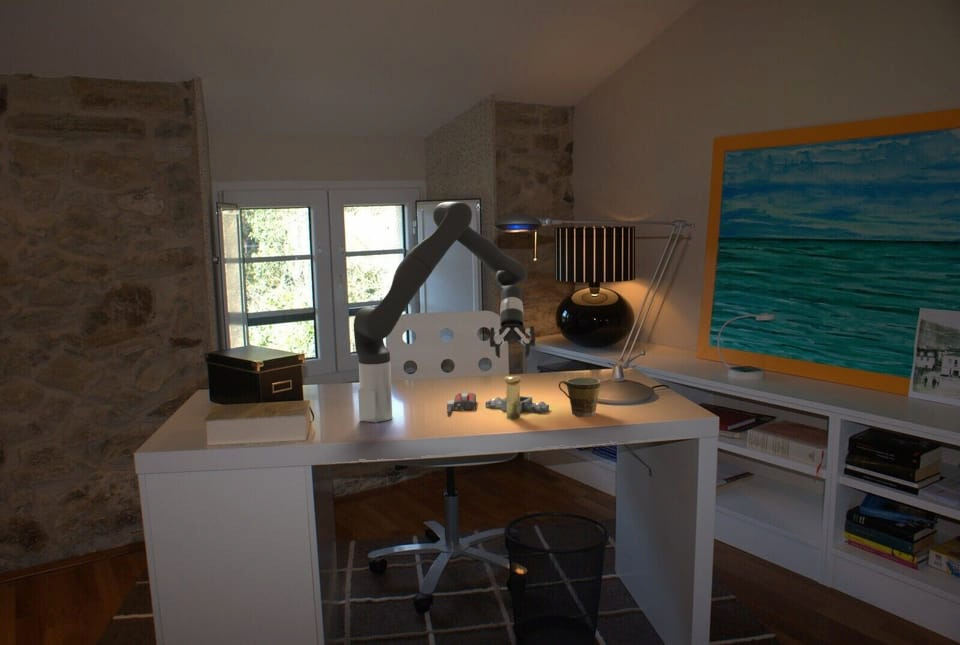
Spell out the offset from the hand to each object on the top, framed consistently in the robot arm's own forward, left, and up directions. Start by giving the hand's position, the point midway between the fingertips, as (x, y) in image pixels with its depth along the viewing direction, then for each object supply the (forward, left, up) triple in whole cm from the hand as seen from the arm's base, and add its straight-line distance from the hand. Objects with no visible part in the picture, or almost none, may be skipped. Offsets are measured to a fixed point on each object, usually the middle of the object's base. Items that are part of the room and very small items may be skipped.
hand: (512, 356), depth 225 cm
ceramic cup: (+1, -21, -16) cm, 27 cm away
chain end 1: (-1, +5, -16) cm, 17 cm away
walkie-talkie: (-7, +15, -17) cm, 23 cm away
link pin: (-11, -5, -16) cm, 20 cm away
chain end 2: (-1, -4, -16) cm, 17 cm away
